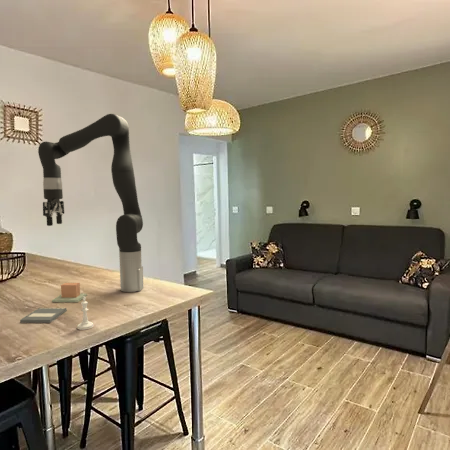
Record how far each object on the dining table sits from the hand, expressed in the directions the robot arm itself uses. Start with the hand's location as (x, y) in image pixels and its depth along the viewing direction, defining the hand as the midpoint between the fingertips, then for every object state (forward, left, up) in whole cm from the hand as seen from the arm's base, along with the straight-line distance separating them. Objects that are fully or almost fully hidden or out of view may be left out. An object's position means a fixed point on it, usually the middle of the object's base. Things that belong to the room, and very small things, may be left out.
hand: (54, 224), depth 156 cm
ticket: (-14, +38, -28) cm, 49 cm away
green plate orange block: (-14, +18, -28) cm, 36 cm away
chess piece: (-32, +47, -28) cm, 64 cm away
